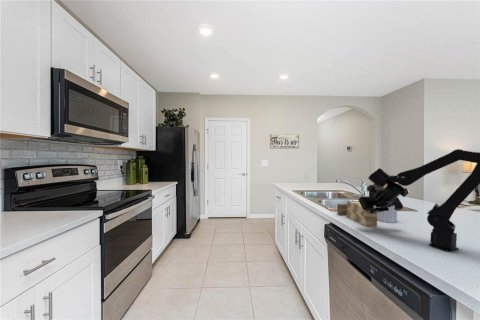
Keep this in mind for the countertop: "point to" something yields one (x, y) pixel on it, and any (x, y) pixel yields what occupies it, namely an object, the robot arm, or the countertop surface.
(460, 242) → the countertop surface
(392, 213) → the soap bottle
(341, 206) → the stop block
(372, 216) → the bar
